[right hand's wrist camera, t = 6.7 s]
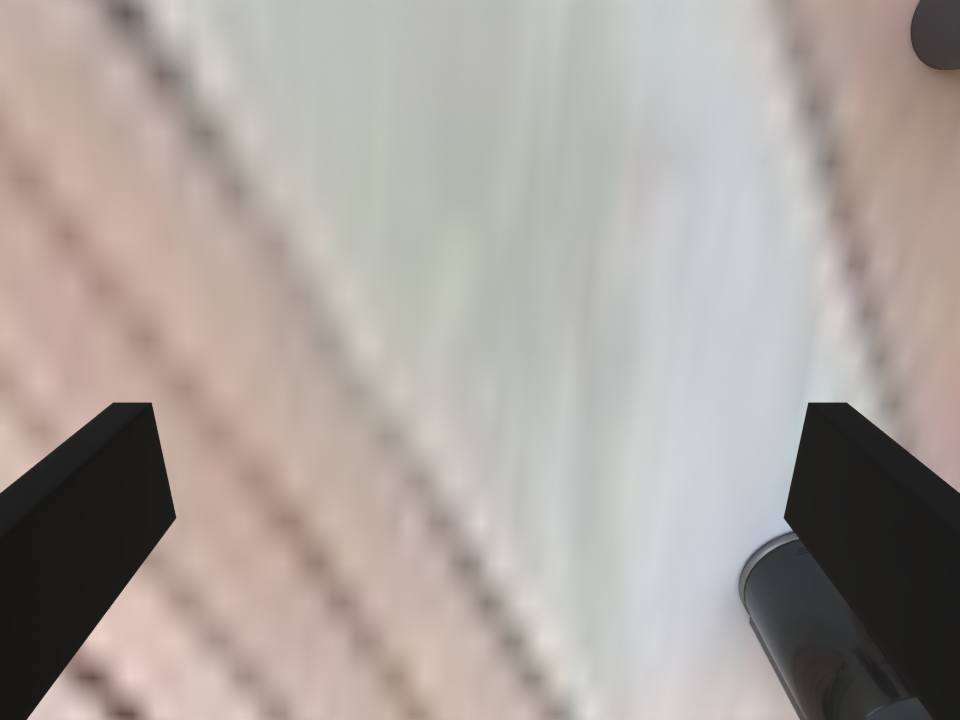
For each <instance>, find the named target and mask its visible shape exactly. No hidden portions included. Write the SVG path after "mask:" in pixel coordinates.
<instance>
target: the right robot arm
mask: <svg viewBox="0 0 960 720" xmlns="http://www.w3.org/2000/svg"><path fill="white" fill-rule="evenodd" d="M175 519H176V515H175V510H174V505H173V500H172V496H171V491H170V486H169V482H168V477H167V472H166V468H165V463H164V458H163V454H162V449H161V444H160V440H159V435H158V430H157V426H156V421H155V416H154V411H153V407H152V403H112V404H111V405H110V406H108V407H107V408H106V409H105V410H103V411H102V412H101V413H100V414H98V415H97V416H96V417H95V418H94V419H92V420H91V421H90V422H89V423H87V424H86V425H85V426H84V427H82V428H81V429H80V430H79V431H77V432H76V433H75V434H74V435H72V436H71V437H70V438H69V439H67V440H66V441H65V442H64V443H62V444H61V445H60V446H59V447H57V448H56V449H55V450H54V451H52V452H51V453H50V454H49V455H47V456H46V457H45V458H44V459H42V460H41V461H40V462H39V463H37V464H36V465H35V466H34V467H32V468H31V469H30V470H29V471H27V472H26V473H25V474H24V475H22V476H21V477H20V478H19V479H18V480H16V481H15V482H14V483H13V484H11V485H10V486H9V487H8V488H6V489H5V490H4V491H3V492H1V493H0V720H27V719H28V717H29V716H30V714H31V713H32V712H33V710H34V709H35V708H36V706H37V705H38V704H39V702H40V701H41V700H42V698H43V697H44V696H45V694H46V693H47V692H48V690H49V689H50V688H51V686H52V685H53V683H54V682H55V681H56V679H57V678H58V677H59V675H60V674H61V673H62V671H63V670H64V669H65V667H66V666H67V665H68V663H69V662H70V661H71V659H72V658H73V657H74V655H75V654H76V652H77V651H78V650H79V648H80V647H81V646H82V644H83V643H84V642H85V640H86V639H87V638H88V636H89V635H90V634H91V632H92V631H93V630H94V628H95V627H96V625H97V624H98V623H99V621H100V620H101V619H102V617H103V616H104V615H105V613H106V612H107V611H108V609H109V608H110V607H111V605H112V604H113V603H114V601H115V600H116V599H117V597H118V596H119V594H120V593H121V592H122V590H123V589H124V588H125V586H126V585H127V584H128V582H129V581H130V580H131V578H132V577H133V576H134V574H135V573H136V572H137V570H138V569H139V567H140V566H141V565H142V563H143V562H144V561H145V559H146V558H147V557H148V555H149V554H150V553H151V551H152V550H153V549H154V547H155V546H156V545H157V543H158V542H159V541H160V539H161V538H162V536H163V535H164V534H165V532H166V531H167V530H168V528H169V527H170V526H171V524H172V523H173V522H174V520H175ZM784 519H785V520H786V522H787V523H788V524H789V526H790V527H791V528H792V530H793V531H794V532H795V534H796V535H797V536H798V538H799V539H800V541H801V542H802V543H803V545H804V546H805V547H806V549H807V550H808V551H809V553H810V554H811V555H812V557H813V558H814V559H815V561H816V562H817V563H818V565H819V566H820V567H821V569H822V570H823V572H824V573H825V574H826V576H827V577H828V578H829V580H830V581H831V582H832V584H833V585H834V586H835V588H836V589H837V590H838V592H839V593H840V594H841V596H842V597H843V599H844V600H845V601H846V603H847V604H848V605H849V607H850V608H851V609H852V611H853V612H854V613H855V615H856V616H857V617H858V619H859V620H860V621H861V623H862V624H863V625H864V627H865V628H866V630H867V631H868V632H869V634H870V635H871V636H872V638H873V639H874V640H875V642H876V643H877V644H878V646H879V647H880V648H881V650H882V651H883V652H884V654H885V655H886V657H887V658H888V659H889V661H890V662H891V663H892V665H893V666H894V667H895V669H896V670H897V671H898V673H899V674H900V675H901V677H902V678H903V679H904V681H905V682H906V683H907V685H908V686H909V688H910V689H911V690H912V692H913V693H914V694H915V696H916V697H917V698H918V700H919V701H920V702H921V704H922V705H923V706H924V708H925V709H926V710H927V712H928V713H929V714H930V716H931V717H932V719H933V720H960V493H959V492H957V491H956V490H955V489H954V488H952V487H951V486H950V485H949V484H947V483H946V482H945V481H944V480H942V479H941V478H940V477H939V476H938V475H936V474H935V473H934V472H933V471H931V470H930V469H929V468H928V467H926V466H925V465H924V464H923V463H921V462H920V461H919V460H918V459H916V458H915V457H914V456H913V455H911V454H910V453H909V452H908V451H906V450H905V449H904V448H903V447H901V446H900V445H899V444H898V443H896V442H895V441H894V440H893V439H891V438H890V437H889V436H888V435H886V434H885V433H884V432H883V431H881V430H880V429H879V428H878V427H876V426H875V425H874V424H873V423H871V422H870V421H869V420H868V419H866V418H865V417H864V416H863V415H862V414H860V413H859V412H858V411H857V410H855V409H854V408H853V407H852V406H850V405H849V404H848V403H808V407H807V411H806V416H805V421H804V426H803V430H802V435H801V440H800V444H799V449H798V454H797V458H796V463H795V468H794V472H793V477H792V482H791V486H790V491H789V496H788V500H787V505H786V510H785V515H784Z"/></svg>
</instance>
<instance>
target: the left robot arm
mask: <svg viewBox="0 0 960 720" xmlns="http://www.w3.org/2000/svg"><path fill="white" fill-rule="evenodd" d="M739 594H740V598H741V601H742V603H743V605H744V607H745V609H746V611H747V613H748V614H749V615H750V617H751V619H750V625H751V627H752V629H753V631H754V633H755V635H756V637H757V639H758V640H759V642H760V644H761V646H762V648H763V650H764V652H765V654H766V656H767V658H768V660H769V661H770V663H771V665H772V667H773V669H774V671H775V673H776V675H777V677H778V679H779V681H780V683H781V684H782V686H783V688H784V690H785V692H786V694H787V696H788V698H789V700H790V702H791V704H792V705H793V707H794V709H795V711H796V713H797V715H798V717H799V719H800V720H933V719H932V717H931V716H930V714H929V713H928V712H927V710H926V709H925V708H924V706H923V705H922V704H921V702H920V701H919V700H918V698H917V697H916V696H915V694H914V693H913V692H912V690H911V689H910V688H909V686H908V685H907V683H906V682H905V681H904V679H903V678H902V677H901V675H900V674H899V673H898V671H897V670H896V669H895V667H894V666H893V665H892V663H891V662H890V661H889V659H888V658H887V657H886V655H885V654H884V652H883V651H882V650H881V648H880V647H879V646H878V644H877V643H876V642H875V640H874V639H873V638H872V636H871V635H870V634H869V632H868V631H867V630H866V628H865V627H864V625H863V624H862V623H861V621H860V620H859V619H858V617H857V616H856V615H855V613H854V612H853V611H852V609H851V608H850V607H849V605H848V604H847V603H846V601H845V600H844V599H843V597H842V596H841V594H840V593H839V592H838V590H837V589H836V588H835V586H834V585H833V584H832V582H831V581H830V580H829V578H828V577H827V576H826V574H825V573H824V572H823V570H822V569H821V567H820V566H819V565H818V563H817V562H816V561H815V559H814V558H813V557H812V555H811V554H810V553H809V551H808V550H807V549H806V547H805V546H804V545H803V543H802V542H801V541H800V539H799V538H798V536H797V535H796V534H795V532H794V533H790V534H787V535H784V536H782V537H779V538H777V539H775V540H773V541H771V542H769V543H768V544H766V545H765V546H763V547H762V548H761V549H760V550H758V551H757V552H756V553H755V554H754V555H753V556H752V558H751V559H750V560H749V561H748V563H747V564H746V566H745V568H744V570H743V572H742V574H741V578H740V582H739Z"/></svg>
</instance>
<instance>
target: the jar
mask: <svg viewBox="0 0 960 720" xmlns="http://www.w3.org/2000/svg"><path fill="white" fill-rule="evenodd" d="M911 38H912V43H913V47H914V50H915V52H916V54H917V55H918V57H919V58H920V59H921V60H922V61H923V62H924V63H925V64H927V65H928V66H930V67H933V68H935V69H940V70H951V69H960V0H921V1H920V3H919V5H918V7H917V9H916V11H915V14H914V17H913V21H912V27H911Z"/></svg>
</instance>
